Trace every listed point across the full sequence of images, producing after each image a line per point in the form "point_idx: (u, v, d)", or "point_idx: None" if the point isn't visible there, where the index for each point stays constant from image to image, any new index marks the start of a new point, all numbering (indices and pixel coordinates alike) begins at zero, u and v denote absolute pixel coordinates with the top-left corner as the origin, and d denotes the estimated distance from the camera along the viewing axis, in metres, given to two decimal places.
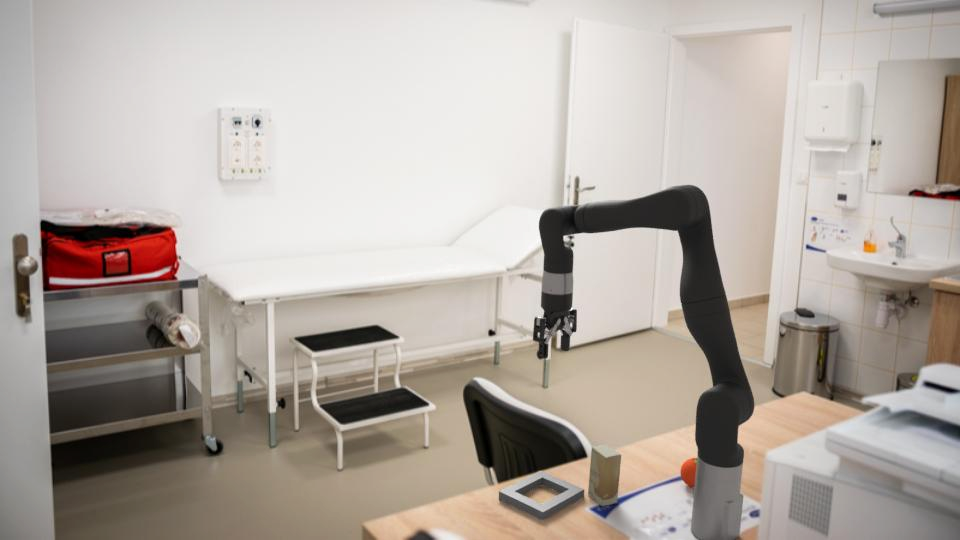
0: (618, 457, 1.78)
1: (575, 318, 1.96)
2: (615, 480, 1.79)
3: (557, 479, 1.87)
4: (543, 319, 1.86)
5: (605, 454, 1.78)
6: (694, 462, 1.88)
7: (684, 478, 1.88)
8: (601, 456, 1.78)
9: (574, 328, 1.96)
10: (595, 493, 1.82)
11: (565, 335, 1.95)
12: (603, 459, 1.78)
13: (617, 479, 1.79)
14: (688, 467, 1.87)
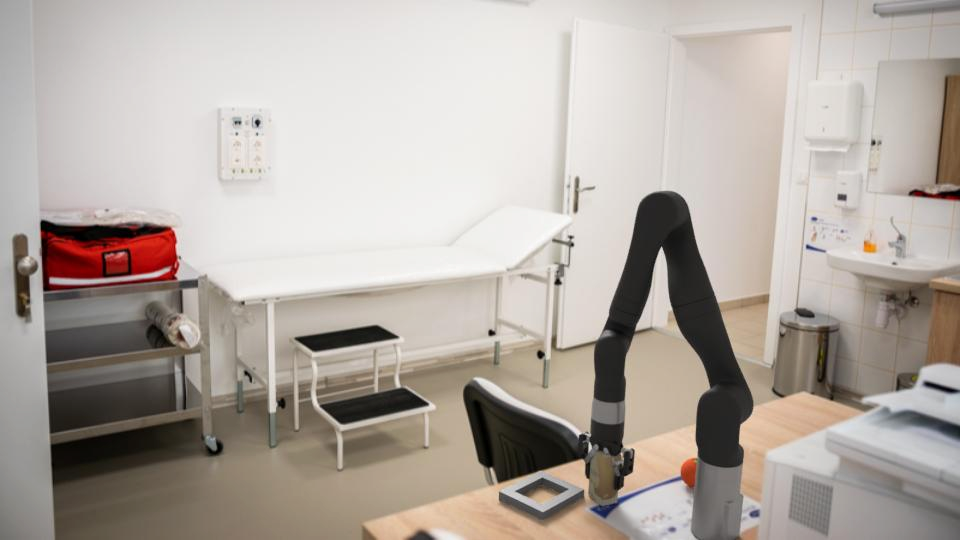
0: (618, 457, 1.78)
1: None
2: None
3: (557, 479, 1.87)
4: None
5: None
6: (694, 462, 1.88)
7: (684, 478, 1.88)
8: (601, 456, 1.78)
9: None
10: (595, 493, 1.82)
11: None
12: (603, 459, 1.78)
13: None
14: (688, 467, 1.87)
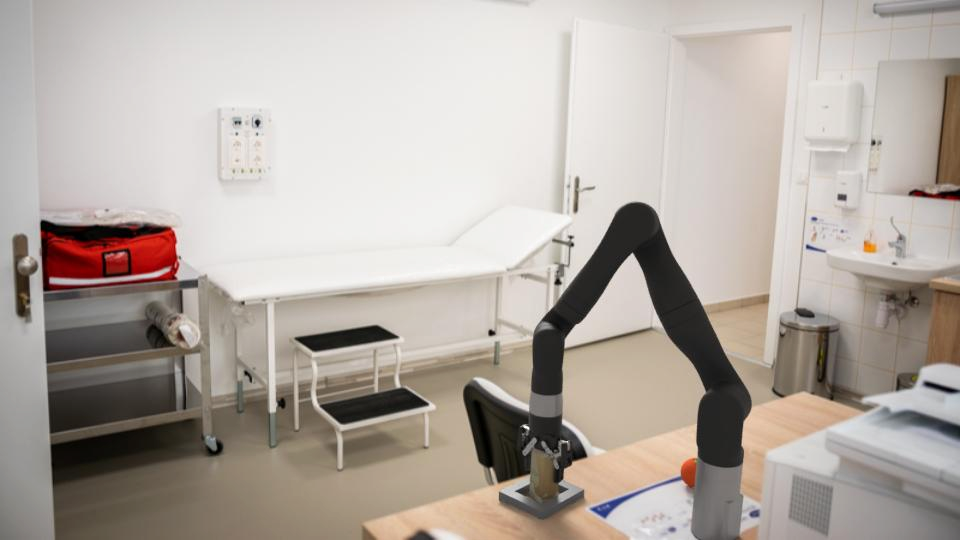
0: None
1: None
2: None
3: None
4: None
5: (544, 454, 1.77)
6: (694, 462, 1.88)
7: (684, 478, 1.88)
8: (540, 455, 1.78)
9: None
10: (535, 493, 1.81)
11: (530, 454, 1.83)
12: (542, 459, 1.77)
13: None
14: (688, 467, 1.87)
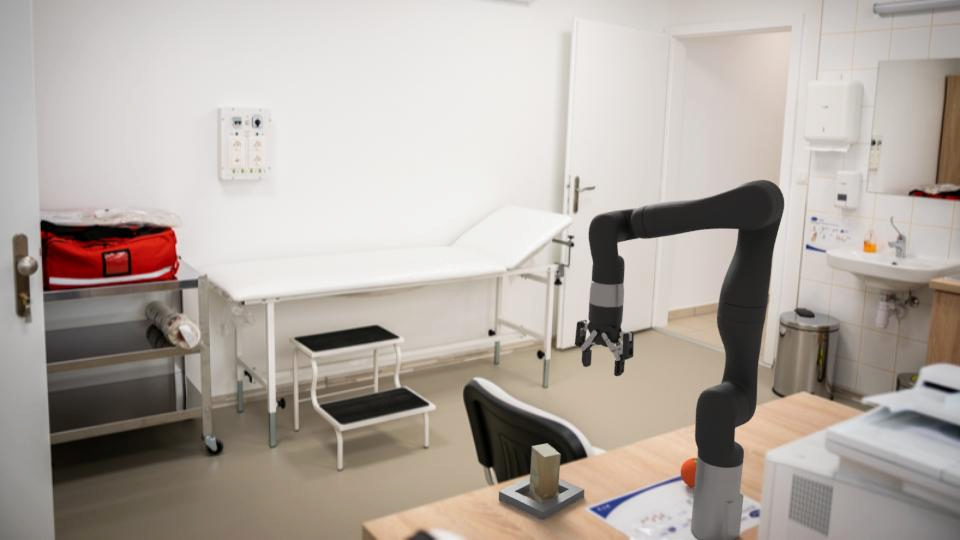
0: (557, 457, 1.77)
1: None
2: (555, 480, 1.79)
3: None
4: None
5: (544, 454, 1.77)
6: (694, 462, 1.88)
7: (684, 478, 1.88)
8: (540, 456, 1.78)
9: None
10: (535, 493, 1.81)
11: (588, 349, 1.81)
12: (542, 459, 1.77)
13: (557, 479, 1.79)
14: (688, 467, 1.87)
